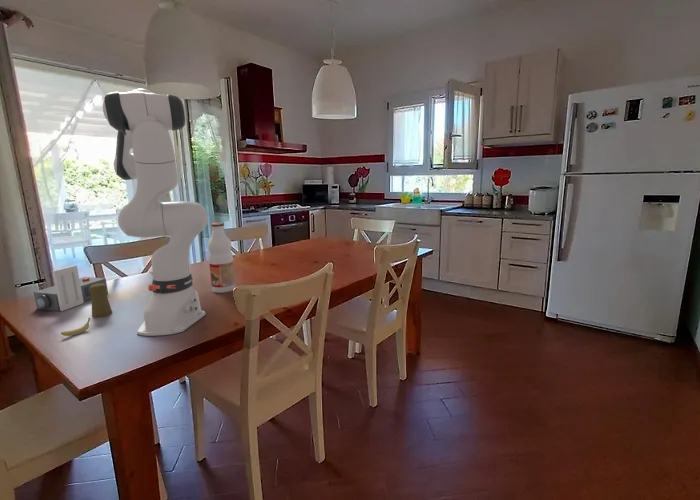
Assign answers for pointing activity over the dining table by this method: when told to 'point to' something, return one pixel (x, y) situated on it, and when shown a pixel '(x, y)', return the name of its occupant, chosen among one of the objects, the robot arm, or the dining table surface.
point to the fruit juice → (221, 260)
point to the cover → (68, 287)
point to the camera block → (50, 300)
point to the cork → (99, 301)
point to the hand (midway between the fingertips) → (159, 218)
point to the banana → (77, 330)
